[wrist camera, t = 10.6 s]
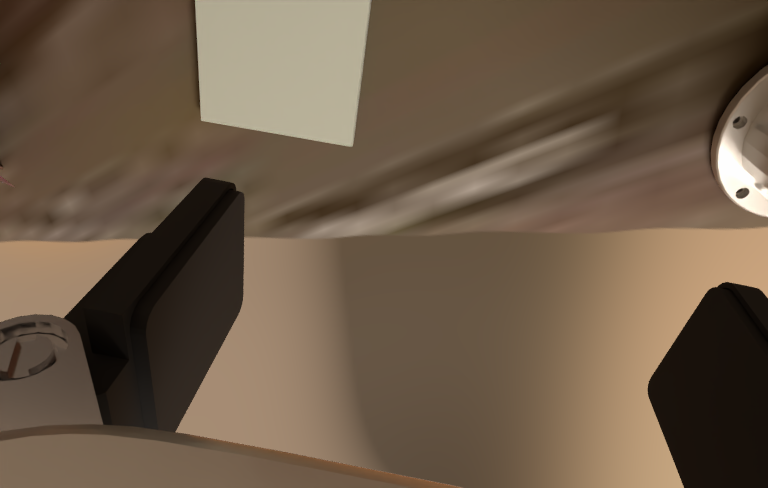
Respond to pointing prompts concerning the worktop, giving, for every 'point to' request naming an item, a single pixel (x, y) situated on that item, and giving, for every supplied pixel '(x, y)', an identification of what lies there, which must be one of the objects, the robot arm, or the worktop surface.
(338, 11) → the mat
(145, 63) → the worktop surface
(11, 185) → the lily
